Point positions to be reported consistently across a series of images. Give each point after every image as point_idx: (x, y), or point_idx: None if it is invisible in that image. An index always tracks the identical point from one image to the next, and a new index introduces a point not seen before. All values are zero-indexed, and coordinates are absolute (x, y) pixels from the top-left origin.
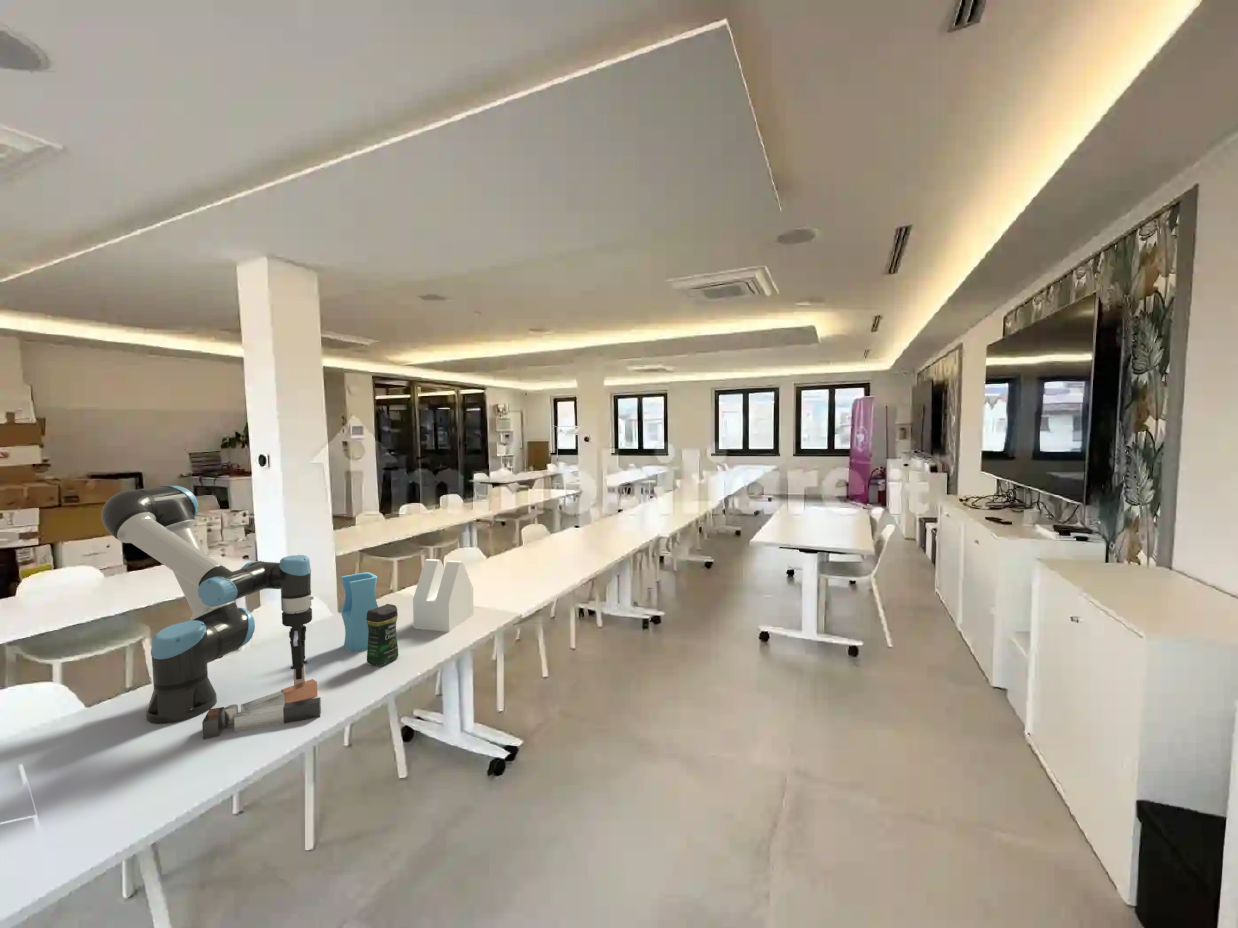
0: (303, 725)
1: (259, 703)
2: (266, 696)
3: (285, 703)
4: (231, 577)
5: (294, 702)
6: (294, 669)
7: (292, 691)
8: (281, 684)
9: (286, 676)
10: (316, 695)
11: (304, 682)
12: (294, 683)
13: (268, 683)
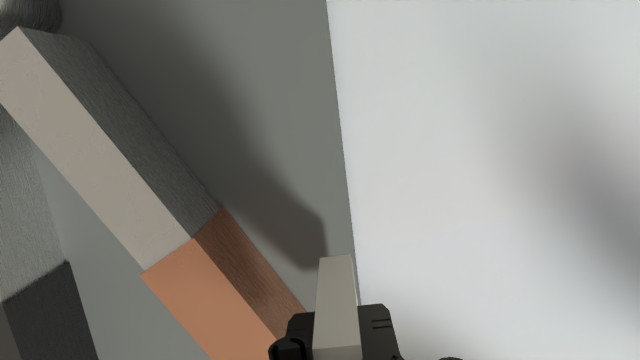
0: None
1: (43, 146)
2: (120, 167)
3: (3, 308)
4: None
5: (9, 353)
6: (312, 348)
7: (172, 305)
8: (517, 128)
9: (636, 126)
10: None
11: None
12: (318, 279)
13: (568, 39)
